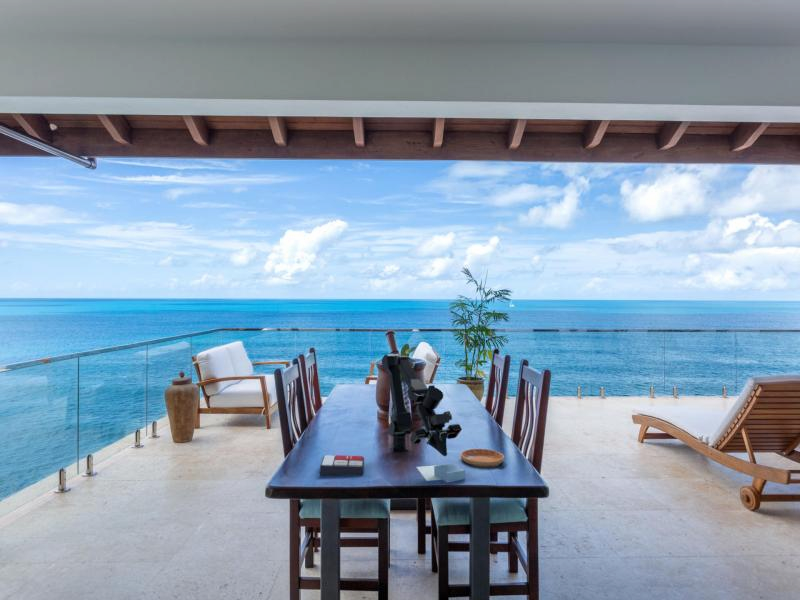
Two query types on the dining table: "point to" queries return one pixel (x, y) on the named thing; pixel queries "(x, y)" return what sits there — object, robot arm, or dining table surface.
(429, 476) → the mat
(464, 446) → the dining table surface
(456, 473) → the box
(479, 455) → the saucer
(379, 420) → the dining table surface
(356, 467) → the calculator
